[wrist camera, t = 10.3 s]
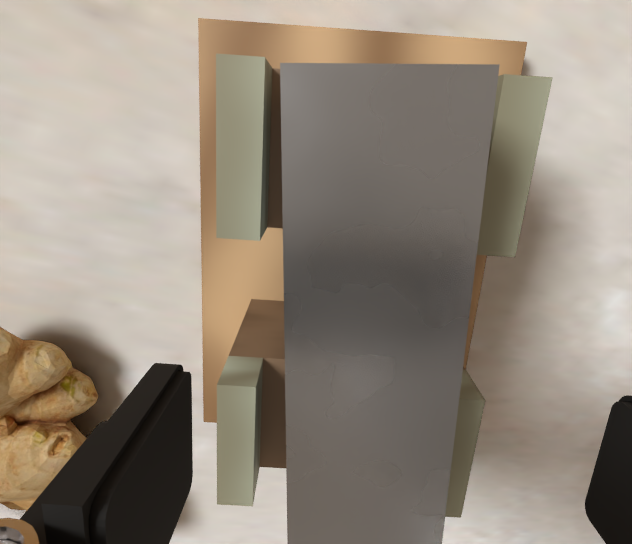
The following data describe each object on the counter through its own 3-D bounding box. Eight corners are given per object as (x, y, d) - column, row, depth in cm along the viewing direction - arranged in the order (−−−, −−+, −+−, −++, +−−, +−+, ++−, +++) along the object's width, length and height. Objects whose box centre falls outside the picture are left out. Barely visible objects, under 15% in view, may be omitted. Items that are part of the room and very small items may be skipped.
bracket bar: (423, 94, 14) (500, 64, 8) (395, 462, 18) (433, 617, 12) (295, 93, 14) (280, 62, 8) (297, 461, 18) (288, 615, 12)
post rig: (512, 48, 20) (673, -24, 11) (445, 419, 26) (514, 571, 17) (207, 26, 20) (113, -66, 11) (209, 405, 26) (151, 552, 17)
